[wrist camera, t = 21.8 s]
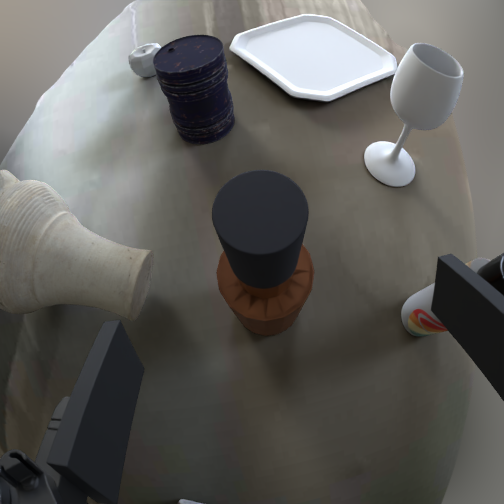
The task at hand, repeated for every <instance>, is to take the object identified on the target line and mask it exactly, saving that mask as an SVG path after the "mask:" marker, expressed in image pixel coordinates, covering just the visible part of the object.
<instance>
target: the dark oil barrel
mask: <svg viewBox="0 0 504 504" xmlns="http://www.w3.org/2000/svg"><path fill="white" fill-rule="evenodd" d="M153 65H154V68H155V70H156V74H157V78H158V81H159V84H160V86H161V90H162V91H163V93H164V94H165V96H167V99H168V102H169V104H170V106H169V107H170V113H171V115H172V119H173V122H174V124H175V126H176V127H177V130H178V133H179V135H180V136H181V138H182V139H184V140H185V141H187V142H189V143H192V144H208V143H212V142H215V141H218V140H220V139H221V138H223V137H224V136H226V135H227V134H228V133H229V132H230V131H231V129H232V128H233V125H234V114H233V102H232V96H231V93H230V91H229V89H228V84H227V79H228V70H227V63H226V58H225V55H224V48H223V44H222V42H221V41H220V40H219V39H218V38H216V37H213V36H209V35H192V36H186V37H182V38H179V39H176V40H174V41H172V42H170V43H168V44H166V45H165V46H163V47H162V48H161V49H160V50H158V51H157V53H156V54H155V55H154V57H153Z"/></svg>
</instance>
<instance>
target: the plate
mask: <svg viewBox="0 0 504 504" xmlns="http://www.w3.org/2000/svg"><path fill="white" fill-rule="evenodd" d="M229 49H230V51H231V52H233V53H234V54H236V55H237V56H239V57H240V58H241V59H243V60H244V61H246V62H247V63H248V64H250V65H251V66H252V67H254V68H255V69H256V70H258V71H259V72H260V73H262V74H263V75H264V76H266V77H267V78H268V79H269V80H271V81H272V82H273V83H275V84H276V85H277V86H278V87H280V88H281V89H282V90H283V91H285V92H286V93H287V94H288V95H289V96H291V97H294V98H298V99H305V100H312V101H319V102H332V101H334V100H336V99H338V98H340V97H343V96H345V95H347V94H349V93H352V92H354V91H356V90H358V89H361V88H363V87H366V86H368V85H370V84H373V83H375V82H378V81H380V80H383V79H385V78H388V77H390V76H393V75H395V73H396V70H397V68H398V66H397V62H396V58H395V57H394V56H393V55H392V54H391V53H389V52H388V51H386V50H385V49H383V48H382V47H380V46H379V45H377V44H376V43H374V42H372V41H371V40H369V39H368V38H366V37H364V36H363V35H361V34H359V33H358V32H356V31H354V30H353V29H351V28H349V27H347V26H346V25H344V24H342V23H340V22H339V21H337V20H335V19H333V18H331V17H327V16H320V15H312V14H303V15H299V16H295V17H292V18H288V19H284V20H281V21H277V22H274V23H270V24H267V25H264V26H261V27H258V28H255V29H252V30H249V31H246V32H243V33H240V34H237V35H236V36H235V37H234V39H233V41H232V43H231V45H230V47H229Z"/></svg>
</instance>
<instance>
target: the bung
mask: <svg viewBox="0 0 504 504" xmlns="http://www.w3.org/2000/svg"><path fill="white" fill-rule="evenodd" d="M308 213H309V211H308V204H307V200H306V198H305V195H304V194H303V192H302V190H301V189H300V188H299V186H298V185H297V184H296V183H295V182H294V181H292V180H291V179H290V178H288V177H286V176H285V175H282V174H280V173H277V172H274V171H269V170H253V171H248V172H245V173H242V174H239V175H237V176H235V177H234V178H232V179H231V180H229V181H228V182H227V183H226V184H225V185H224V186H223V187H222V188H221V189H220V191H219V192H218V194H217V196H216V198H215V200H214V203H213V208H212V220H213V225H214V227H215V230H216V232H217V235H218V237H219V240H220V242H221V245H222V247H223V249H224V252H225V254H226V257H227V259H228V261H229V264H230V266H231V269H232V271H233V272H234V274H235V275H236V277H237V278H238V279H239V280H240V281H242V282H243V283H245V284H246V285H248V286H251V287H254V288H260V289H267V288H273V287H276V286H278V285H280V284H282V283H284V282H285V281H286V280H288V279H289V278H290V277H291V275H292V274H293V272H294V271H295V269H296V266H297V263H298V259H299V255H300V251H301V246H302V242H303V238H304V234H305V230H306V225H307V221H308Z"/></svg>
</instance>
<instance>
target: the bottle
mask: <svg viewBox="0 0 504 504" xmlns="http://www.w3.org/2000/svg"><path fill="white" fill-rule="evenodd" d="M313 278H314V268H313V264H312V260H311V256H310V253H309V252H308V251H307V249H306V248H305V247H304V245H303V244H302V246H301V251H300V255H299V259H298V263H297V266H296V269H295V271H294V272H293V274H292V275H291V277H290V278H289V279H288V280H286V281H285V282H284V283H282V284H280V285H278V286H276V287H273V288H267V289H260V288H254V287H251V286H248V285H246V284H245V283H243V282H242V281H240V280H239V279H238V278H237V277H236V275H235V274H234V272H233V271H232V269H231V266H230V264H229V261H228V259H227V257H226V254H225V252H224V251H223V253H222V254H221V256H220V260H219V264H218V268H217V279H218V286H219V290H220V292H221V294H222V296H223V297H224V299H225V300H226V302H227V303H228V305H229V306H230V308H231V309H232V311H233V312H234V313H235V315H236V316H237V317H238V319H239V320H240V321H241V323H242V324H243V325H244V326H245V327H246V328H248V329H249V330H250V331H252V332H254V333H256V334H260V335H266V336H269V335H275V334H279V333H281V332H283V331H285V330H286V329H287V328H289V327H290V326H291V325H292V324H293V322H294V320H295V319H296V317H297V316H298V314H299V312H300V310H301V309H302V307H303V305H304V303H305V301H306V299H307V298H308V296H309V294H310V292H311V290H312V284H313Z"/></svg>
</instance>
